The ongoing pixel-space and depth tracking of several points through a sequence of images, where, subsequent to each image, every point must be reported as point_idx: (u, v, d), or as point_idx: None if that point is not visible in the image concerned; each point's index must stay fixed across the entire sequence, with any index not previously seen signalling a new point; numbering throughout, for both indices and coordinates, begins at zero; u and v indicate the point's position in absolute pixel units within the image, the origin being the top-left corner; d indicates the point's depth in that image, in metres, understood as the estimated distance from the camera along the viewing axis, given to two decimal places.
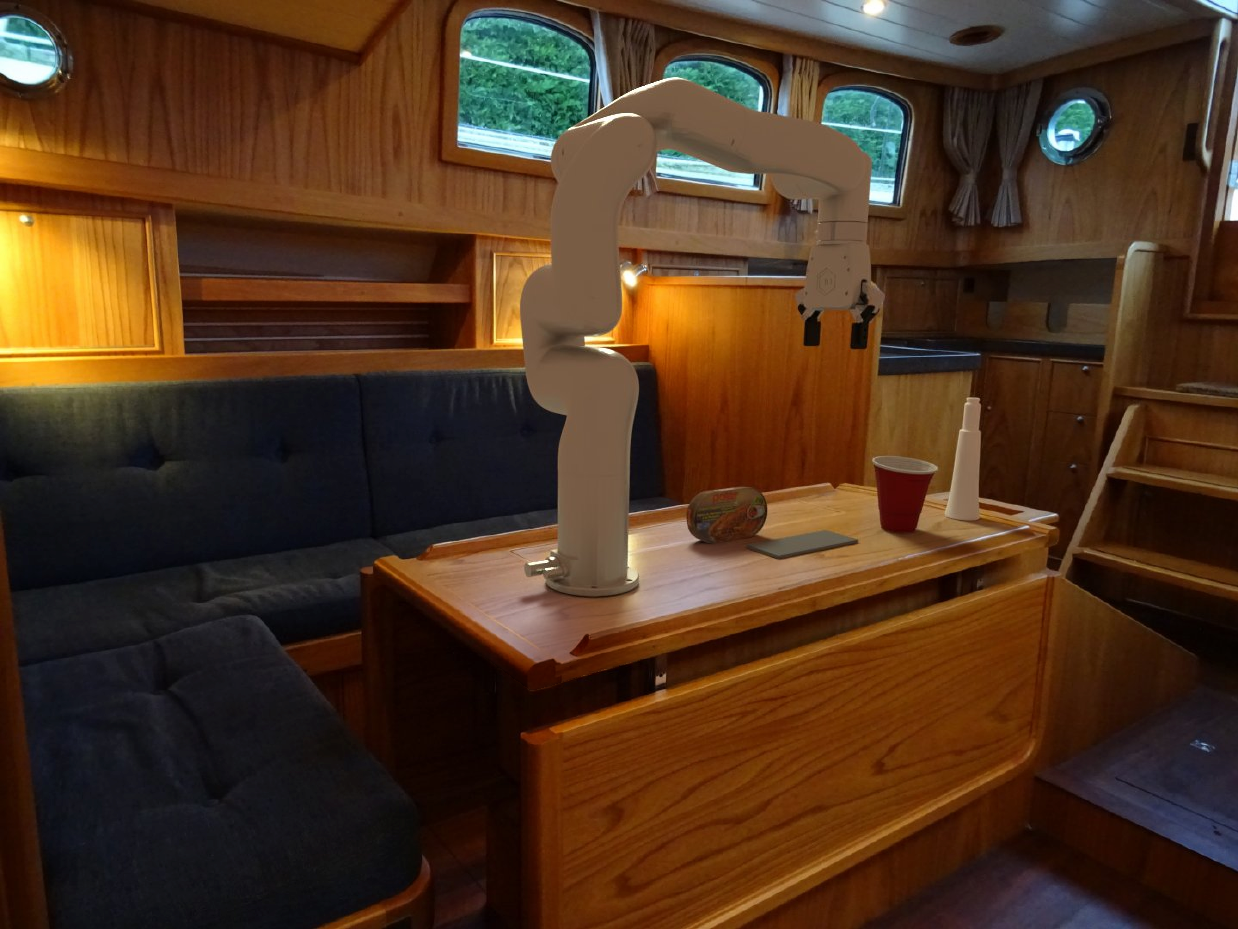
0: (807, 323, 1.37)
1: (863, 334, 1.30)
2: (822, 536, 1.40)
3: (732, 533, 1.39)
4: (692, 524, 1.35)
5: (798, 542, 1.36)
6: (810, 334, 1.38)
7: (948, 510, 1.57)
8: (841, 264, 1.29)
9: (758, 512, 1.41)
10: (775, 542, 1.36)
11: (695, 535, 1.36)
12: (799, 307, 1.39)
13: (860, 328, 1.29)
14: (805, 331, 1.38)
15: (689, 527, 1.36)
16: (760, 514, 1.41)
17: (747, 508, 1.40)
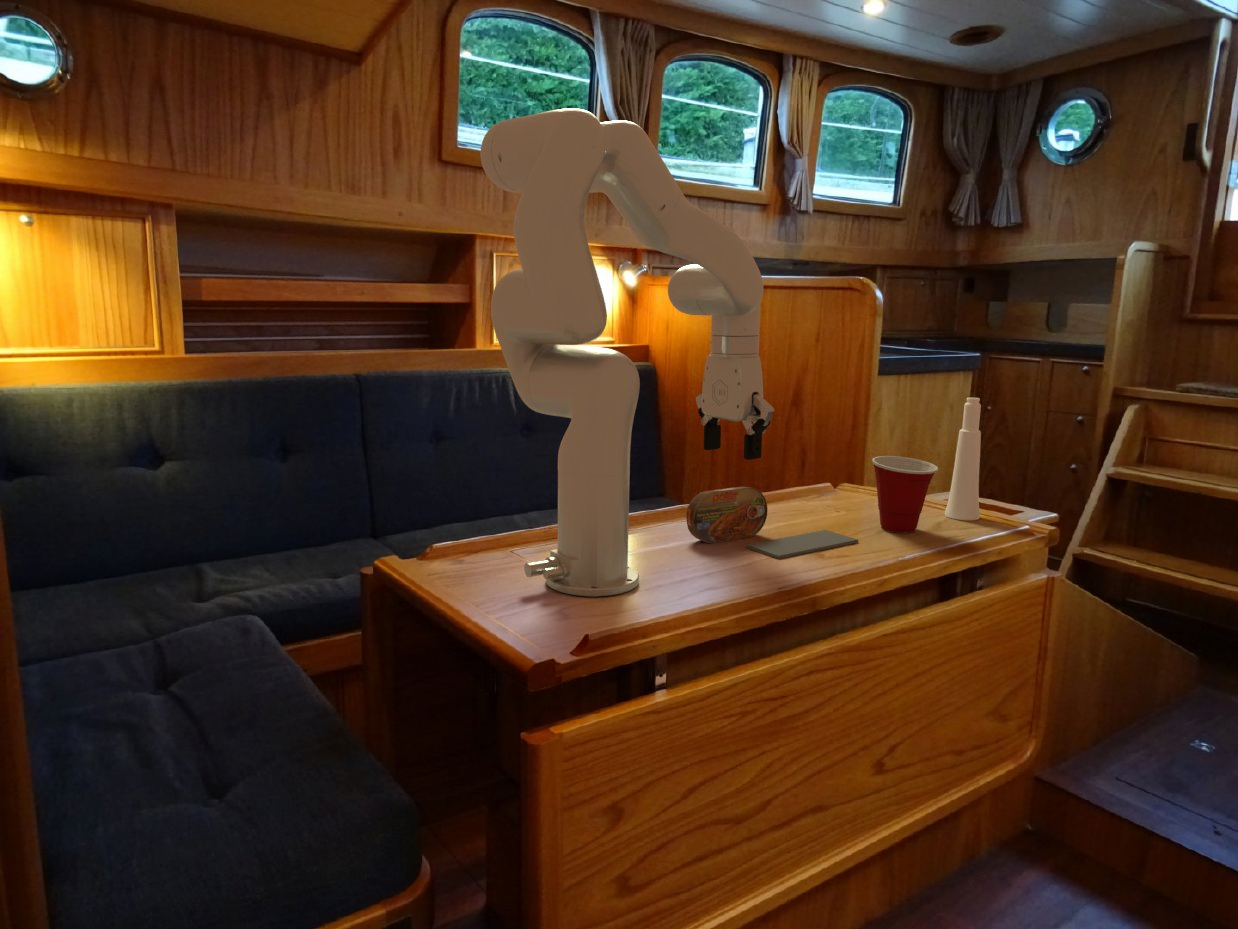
0: (706, 428, 1.40)
1: (755, 445, 1.32)
2: (822, 536, 1.40)
3: (732, 533, 1.39)
4: (692, 524, 1.35)
5: (798, 542, 1.36)
6: (710, 438, 1.40)
7: (948, 510, 1.57)
8: (732, 377, 1.31)
9: (758, 512, 1.41)
10: (775, 542, 1.36)
11: (695, 535, 1.36)
12: (699, 411, 1.41)
13: (752, 440, 1.32)
14: (705, 436, 1.40)
15: (689, 527, 1.36)
16: (760, 514, 1.41)
17: (747, 507, 1.40)
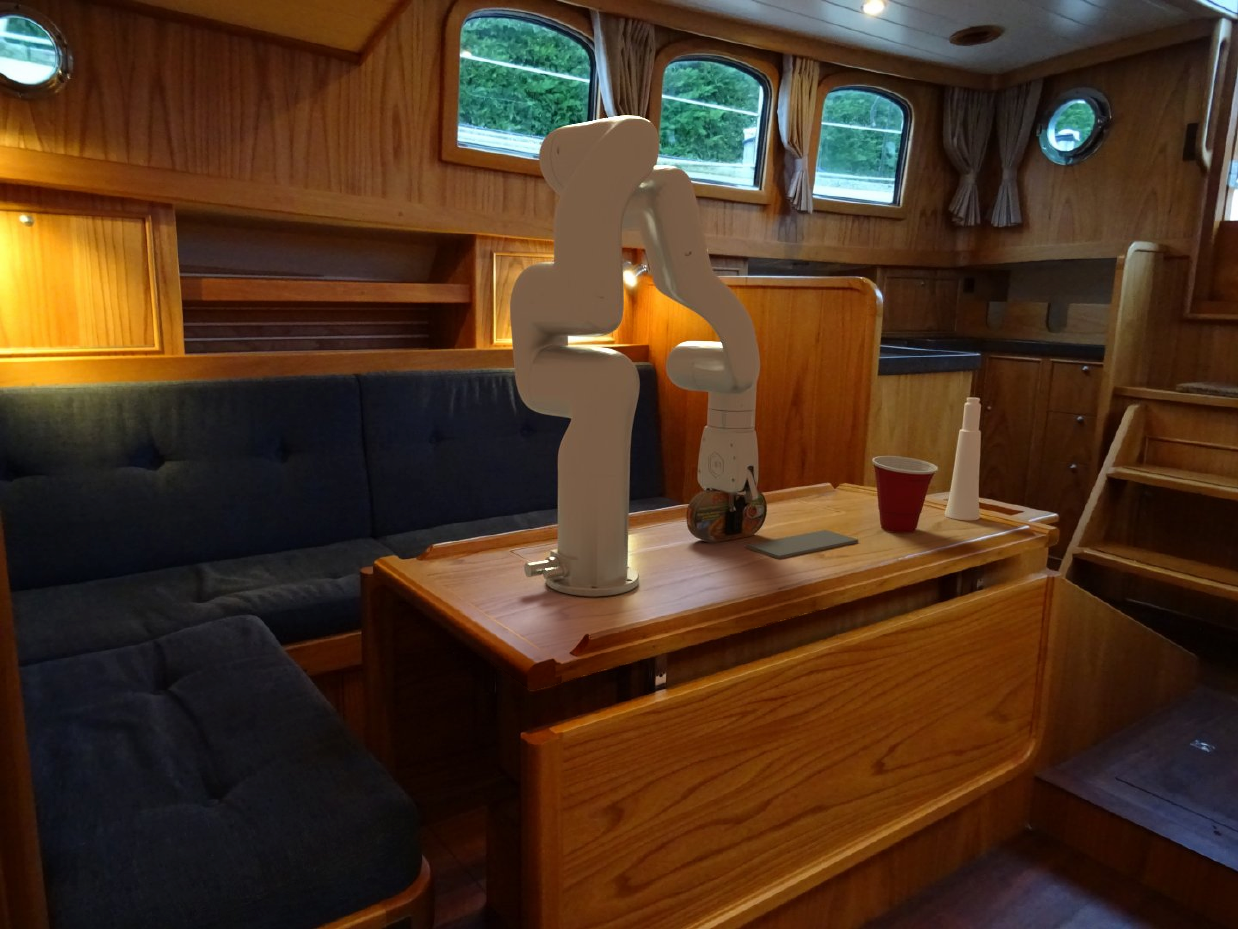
0: None
1: (736, 522, 1.36)
2: (822, 536, 1.40)
3: None
4: (692, 524, 1.35)
5: (798, 542, 1.36)
6: None
7: (948, 510, 1.57)
8: (728, 451, 1.33)
9: (757, 511, 1.41)
10: (775, 542, 1.36)
11: (695, 534, 1.36)
12: None
13: (733, 516, 1.36)
14: None
15: (689, 526, 1.36)
16: (759, 513, 1.41)
17: (747, 507, 1.40)
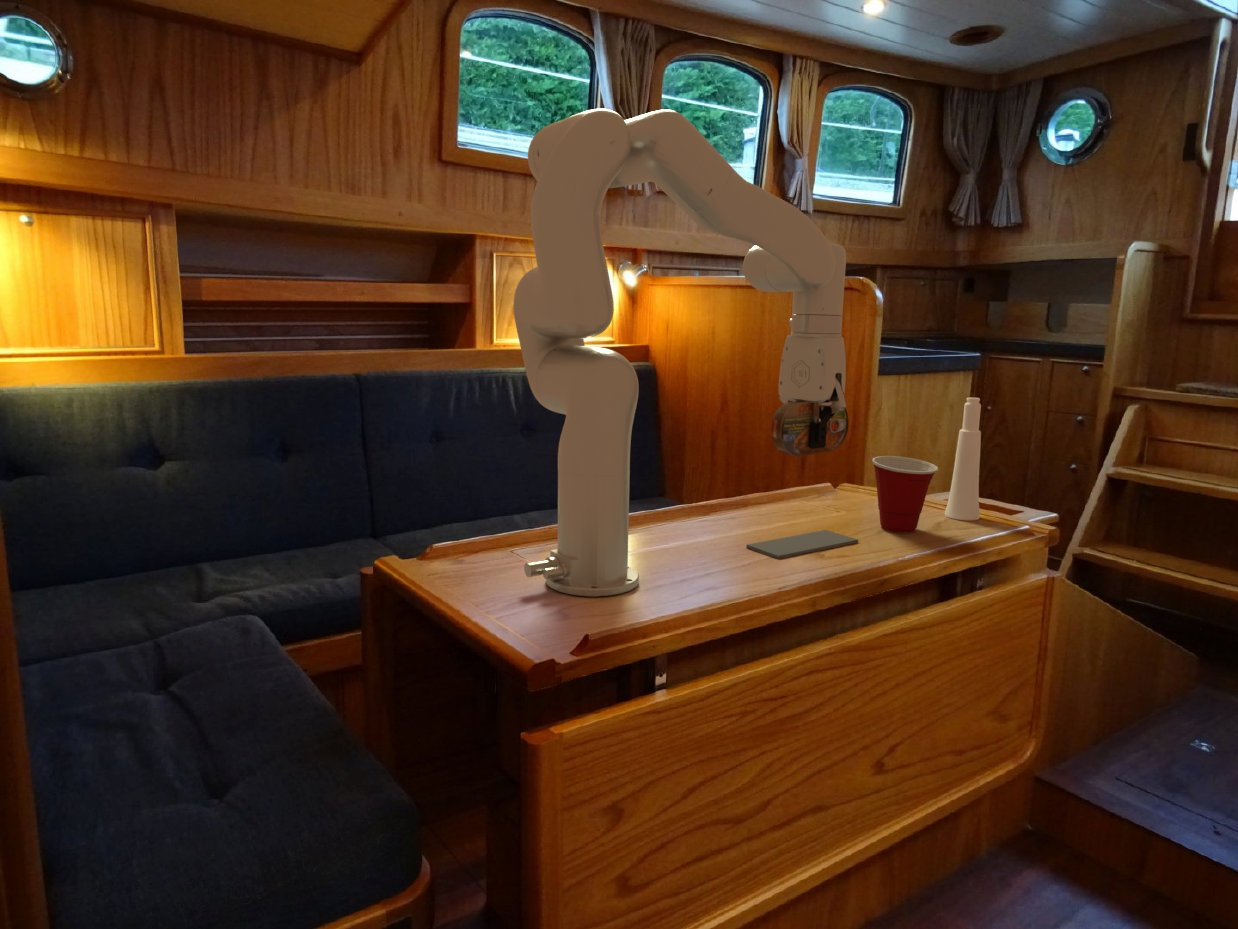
0: None
1: (821, 434, 1.31)
2: (822, 536, 1.40)
3: None
4: (778, 436, 1.28)
5: (798, 542, 1.36)
6: None
7: (948, 510, 1.57)
8: (815, 358, 1.27)
9: (839, 425, 1.35)
10: (775, 542, 1.36)
11: (780, 447, 1.30)
12: None
13: (818, 428, 1.30)
14: None
15: (774, 439, 1.29)
16: (842, 428, 1.35)
17: (830, 421, 1.34)
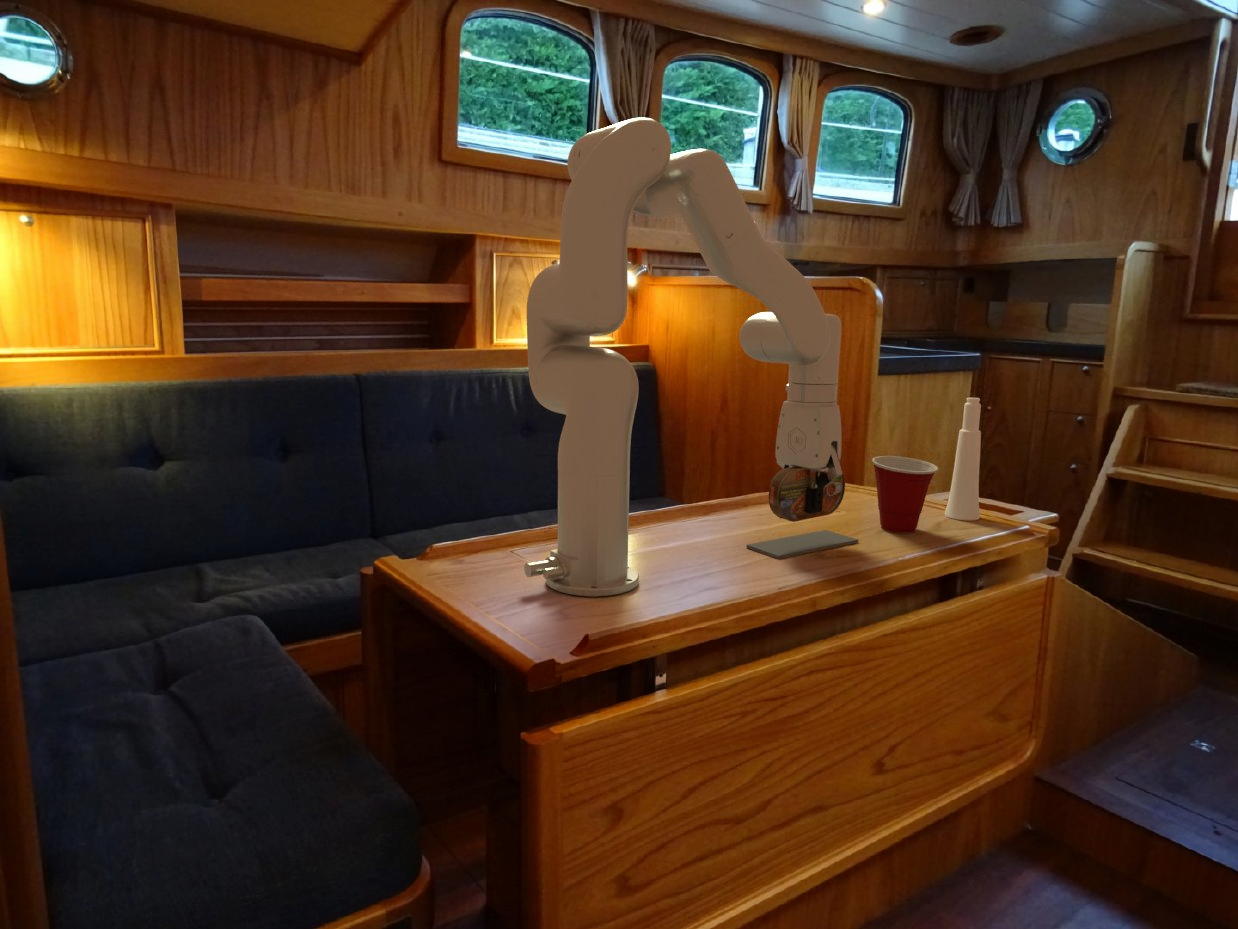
0: None
1: (817, 499, 1.32)
2: (822, 536, 1.40)
3: None
4: (775, 502, 1.30)
5: (798, 542, 1.36)
6: None
7: (948, 510, 1.57)
8: (811, 426, 1.29)
9: (836, 488, 1.37)
10: (775, 542, 1.36)
11: (777, 513, 1.32)
12: None
13: (814, 494, 1.32)
14: None
15: (771, 505, 1.31)
16: (838, 491, 1.37)
17: None
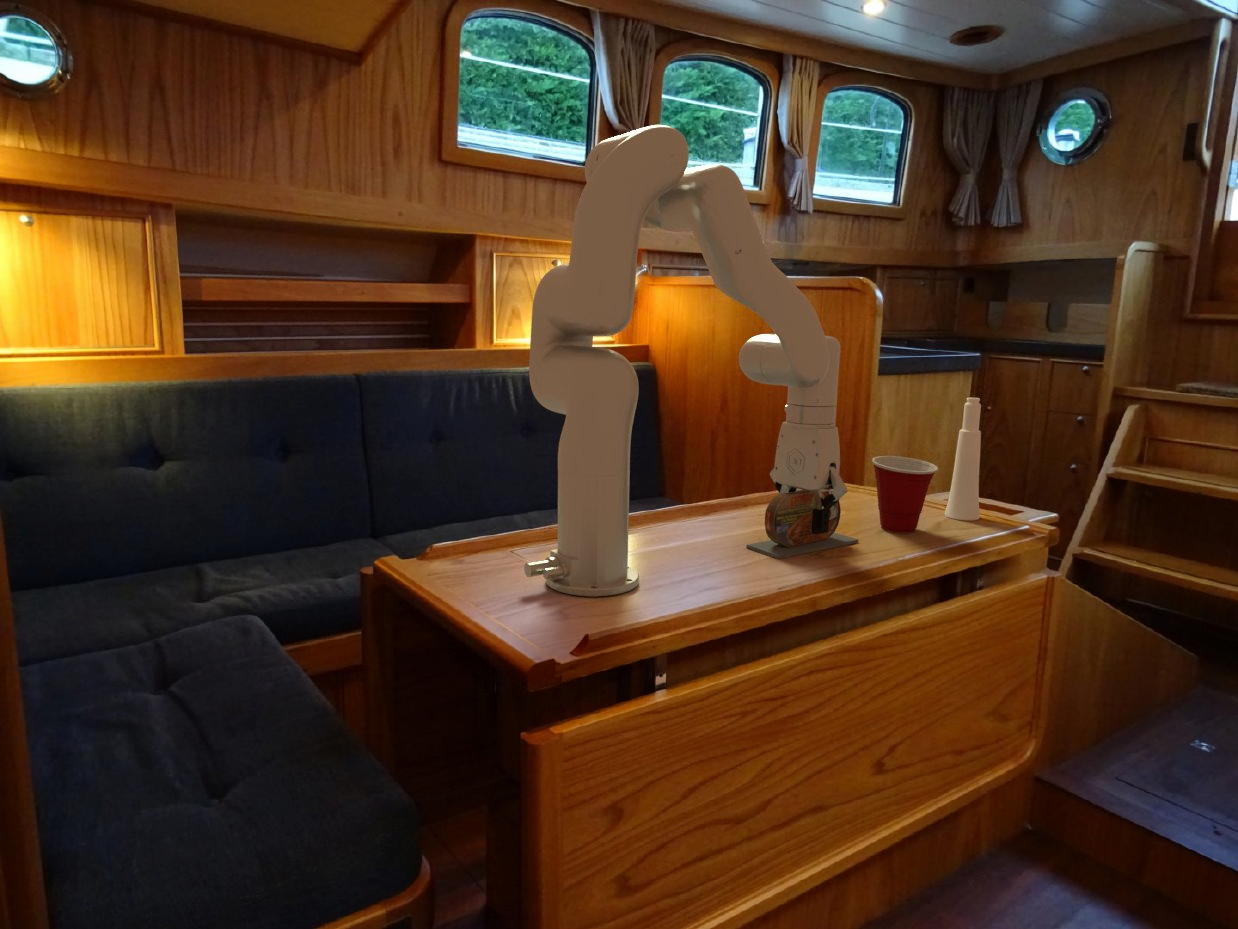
0: None
1: (824, 520, 1.32)
2: None
3: (809, 535, 1.36)
4: (771, 528, 1.31)
5: None
6: None
7: (948, 510, 1.57)
8: (810, 448, 1.29)
9: (831, 513, 1.38)
10: None
11: (774, 539, 1.32)
12: (776, 484, 1.39)
13: (821, 515, 1.31)
14: None
15: (768, 530, 1.32)
16: (834, 516, 1.38)
17: None
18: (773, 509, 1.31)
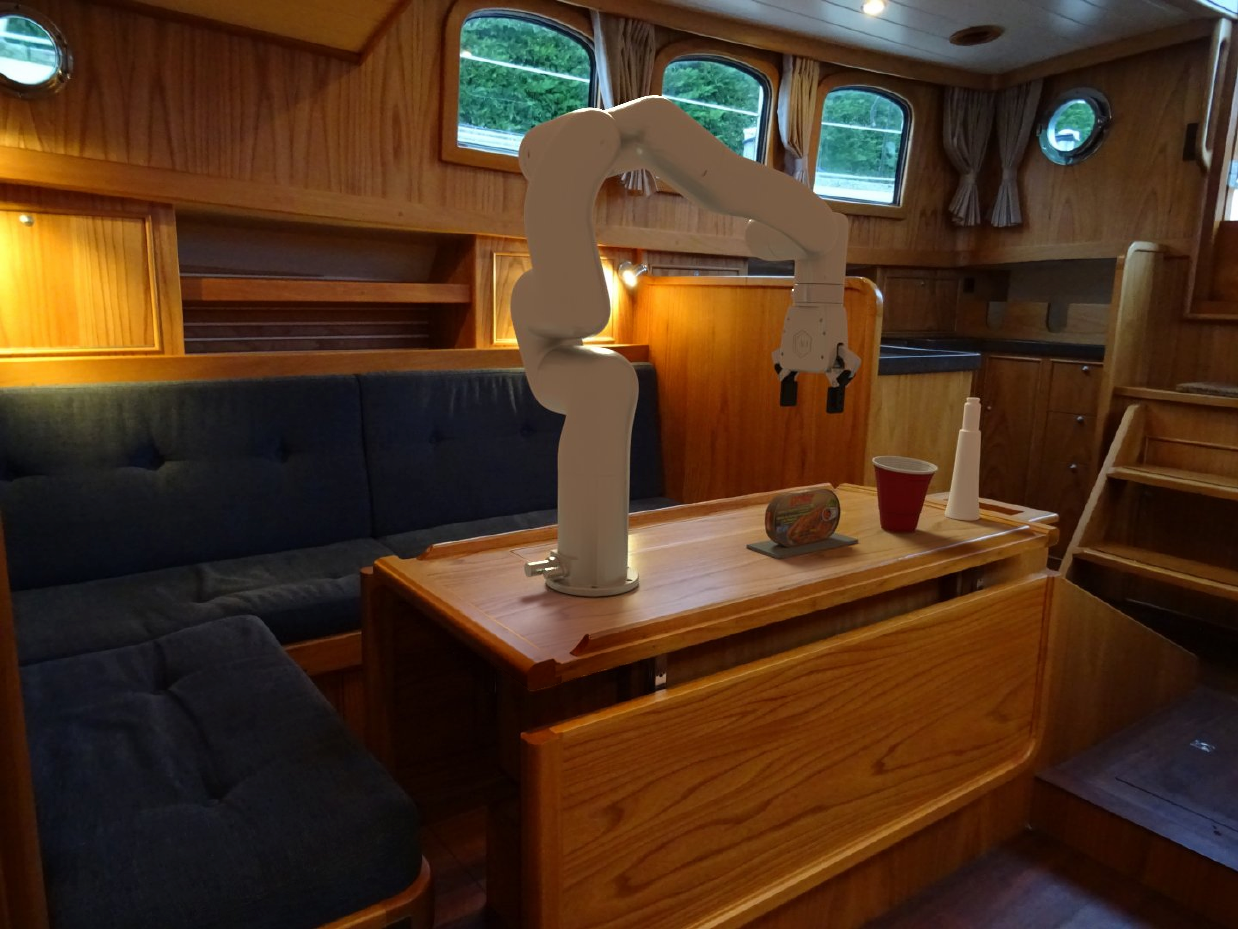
0: (783, 383, 1.34)
1: (839, 398, 1.27)
2: None
3: (809, 535, 1.36)
4: (772, 528, 1.31)
5: None
6: (786, 394, 1.35)
7: (948, 510, 1.57)
8: (817, 327, 1.26)
9: (831, 513, 1.38)
10: None
11: (774, 539, 1.32)
12: (776, 366, 1.36)
13: (836, 392, 1.27)
14: (781, 391, 1.35)
15: (768, 531, 1.32)
16: (834, 516, 1.38)
17: (822, 509, 1.37)
18: (773, 509, 1.31)
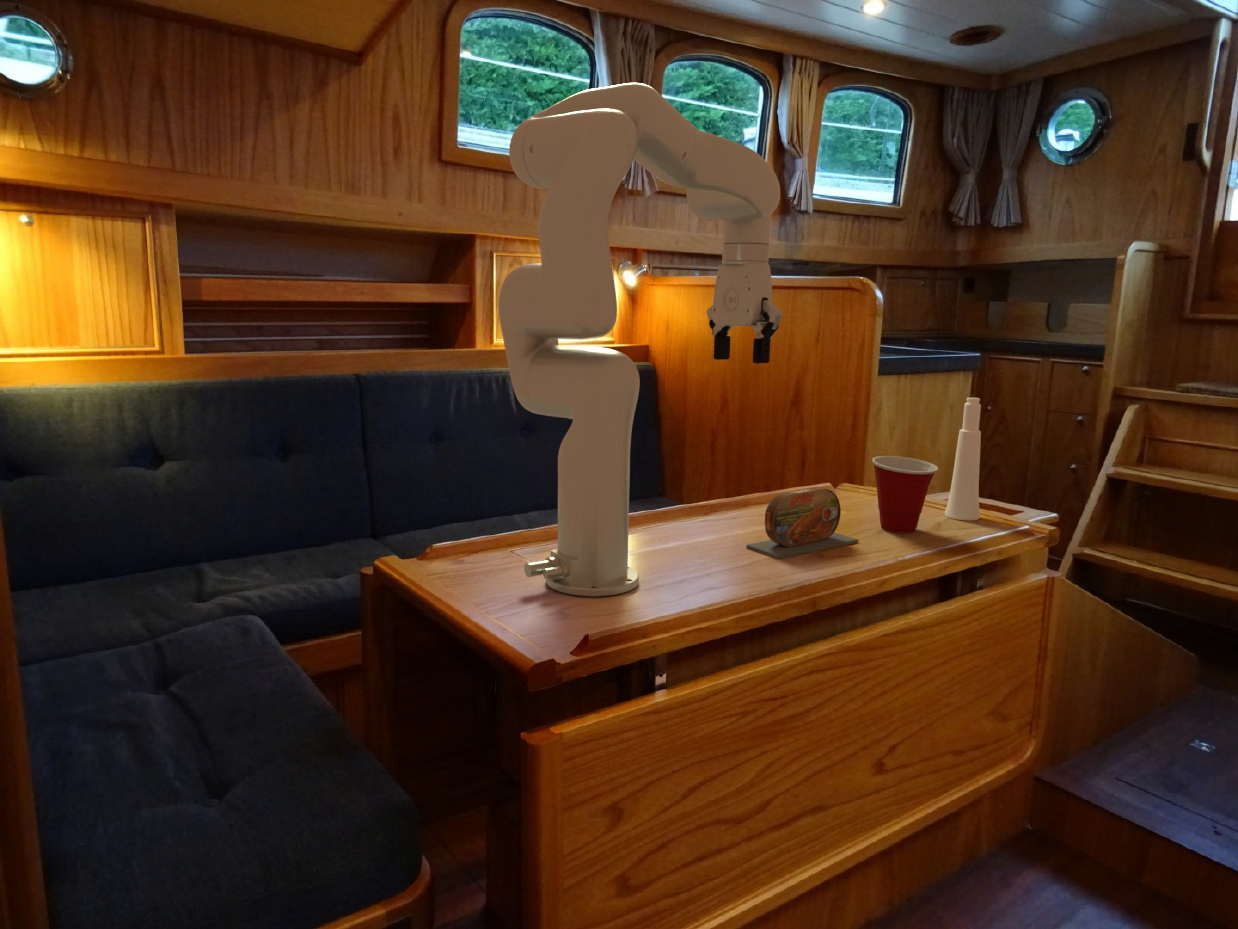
0: (716, 338, 1.45)
1: (764, 349, 1.38)
2: None
3: (809, 535, 1.36)
4: (772, 528, 1.31)
5: None
6: (719, 348, 1.46)
7: (948, 510, 1.57)
8: (743, 283, 1.37)
9: (831, 513, 1.38)
10: None
11: (774, 539, 1.32)
12: (710, 322, 1.47)
13: (761, 343, 1.37)
14: (715, 345, 1.46)
15: (768, 531, 1.32)
16: (834, 516, 1.38)
17: (822, 509, 1.37)
18: (773, 509, 1.31)
